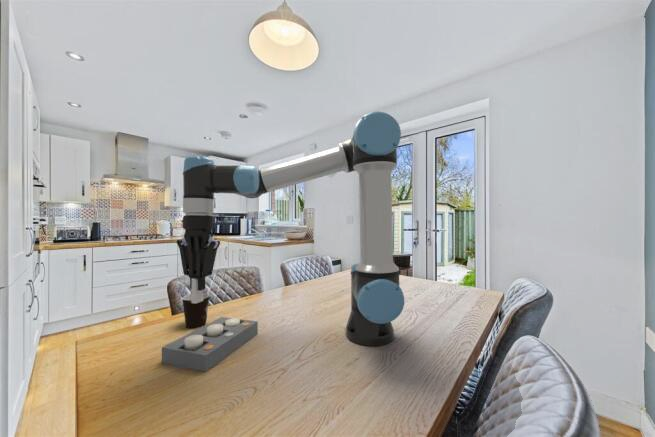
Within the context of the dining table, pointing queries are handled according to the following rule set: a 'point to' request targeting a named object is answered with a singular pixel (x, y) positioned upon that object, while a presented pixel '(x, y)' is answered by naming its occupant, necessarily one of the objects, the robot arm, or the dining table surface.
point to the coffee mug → (195, 312)
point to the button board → (209, 345)
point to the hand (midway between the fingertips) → (197, 301)
